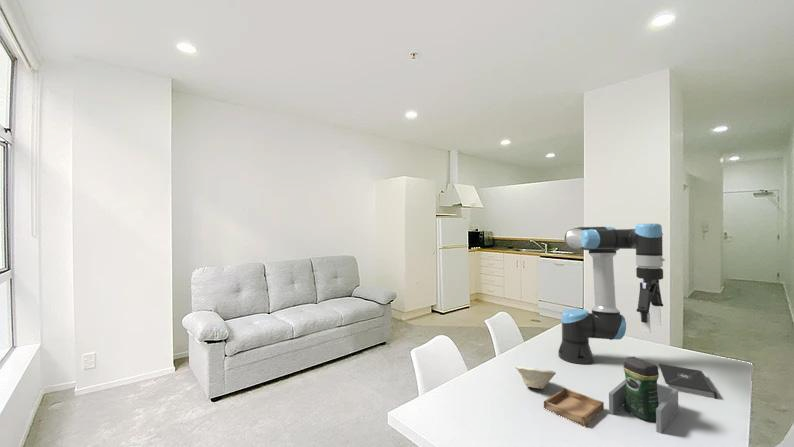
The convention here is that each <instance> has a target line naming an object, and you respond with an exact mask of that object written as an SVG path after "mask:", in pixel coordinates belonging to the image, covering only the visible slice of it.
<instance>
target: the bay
mask: <svg viewBox="0 0 794 447" xmlns="http://www.w3.org/2000/svg"><path fill="white" fill-rule="evenodd" d="M625 384H626V378H625V379H623V381H621V382H620V383H619V384H617V386H616V387H614V388H613V389H612V390H610V391H609V392H608V410H609V411H608V412H609V414H610V415H612V416H613V415H615V414H616V413H617V412H618V411H619V410H620V409H621V408H622V407H623V406H624V401H625ZM657 393H658V402H659V406H658V407H657V408H656V420H655V422H656V423H655V428H656V430H655V431H656V432H657V433H660V434H662V432H663V431H664V430H665V429H666V427H667V426H668V425H669V424H670V422H671V421H672V419H673V418H674V416H675V415H676V413H678V411H679V391H678V389H674V388H671V387H668V385H667V386H666V385H663V384H660V383H657Z"/></svg>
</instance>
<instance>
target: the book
mask: <svg viewBox="0 0 794 447" xmlns="http://www.w3.org/2000/svg"><path fill="white" fill-rule="evenodd" d="M658 366H659V368H660V371H661V372H660V373H661V374H662V378H663V380H664V382H665V384H666V385H667V386H668V387H671V388H674V389H678V392H683V393H689V394H694V395H698V396H704V397H709V398H713V399H715V400H717V399H718V394H717V392H716V390H715V389H714V388H713V386H712V384H711V383H710V381H709V380H708V378H707V376H705V374H704V372H703V370H699V369H694V368H693V369H692V368H688V367H681V366H676V365H675V366H674V365H668V364H662V363H658Z"/></svg>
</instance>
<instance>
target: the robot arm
mask: <svg viewBox="0 0 794 447" xmlns="http://www.w3.org/2000/svg"><path fill="white" fill-rule="evenodd" d="M662 228H663V227H662V225H661V224H660V223H637V224H636V225H635V228H628V229H626V228H623V229H622V228H619V229H616V228H615V227H612V226H579V227H573V228H571V229H569V230H568V231H567V232H566V233H565V234H564V242H565V244H566V245H567V246H568V247H569V248H571V249H574V250H577V251H578V250H579V251H588V255H589V256H591V258H592V271H593V272H592V273H593V290H594V292H593V293H594V294H593V295H594V307H592V308H591V312H590V313H589V311H588V310H587V309H583V308H571V309H566V310H564V311H563V312H562V314H561V342H560V345H559V348H558V358H559V359H561V360H563V361H566V362H569V363H571V364H572V363H573V364H579V365H589V364H593V362H594V354H593V352H592V349H591V346H590V339H598V340H599V339H602V340H603V339H604V340H610V341H613V340H617V341H618V340H621V339H623V338H624V336H625V334H626V330H627V321H626V318H625V316H624V315H623V314H621V312H620V309H618V308H617V307H616V306H617V304H616V287H615V273H614V269H615V268H614V257H615V256H616V255H617V251H619V250H623V249H624V250H626V249H627V250H631V249H632V250H633V249H634V250H635V265H636V266H637V267H636V268H635V272H636V277H637V278H638V279H642V282H639V293H638V302H637V303H638V304H637V308H636V312H638V313H639V332H645V333H647V334H650V333H651V325H656V326H657V325H658V326H661V325H662V320H661V319H662V316H661V315H662V314H661V310H662V309H661V308H662V307H664V303H663V301H662V294H661V288H660V280H663V279H664V269H663V268H662V267H664V263H663V262H665V261H666V260H665V258H664V257H663V235H664V234H663V229H662Z"/></svg>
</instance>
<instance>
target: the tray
mask: <svg viewBox="0 0 794 447" xmlns="http://www.w3.org/2000/svg"><path fill="white" fill-rule="evenodd" d="M604 404H605V403H604V401H601V400H599V399H595V398H593V397H591V396H588V395H584V394H583V393H579V392H576V391H574V390H571V389H568V388H566V387H563V388H562V389H560V390H559V391H557V392H556V393H555V394H553V395H551V396H549V397H548V398H547V399H545V400H544V401H543V409H544V408H545V409H547V410H549V411H551V412H550V413H552V412H554V413H556V414H558V415H557V416H559V415H560V416H559V417H561V416H562V417H561V418H563V417H564V418H563V419H565V418H567V419H566V420H568V419H569V420H568V421H570V420H571V421H570V422H572V421H574V422H573V423H575V422H576V423H575V424H577V423H578V424H577V425H579V424H580V425H579V426H581V425H582V427H584V426H585V427H586V426H587V425H589V424H590V423H591V422H592V421H593V420H594V419H595V418H596V417H598V416H597V415H598V414H599V415H600V414H601V413H602V412H603V411H604V410H605V409H604V407H605V406H604ZM545 409H544V410H545ZM547 410H546V411H547ZM549 411H548V412H549ZM554 413H553V414H554ZM556 414H555V415H556ZM590 421H591V422H590ZM589 422H590V423H589ZM588 423H589V424H588Z"/></svg>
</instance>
